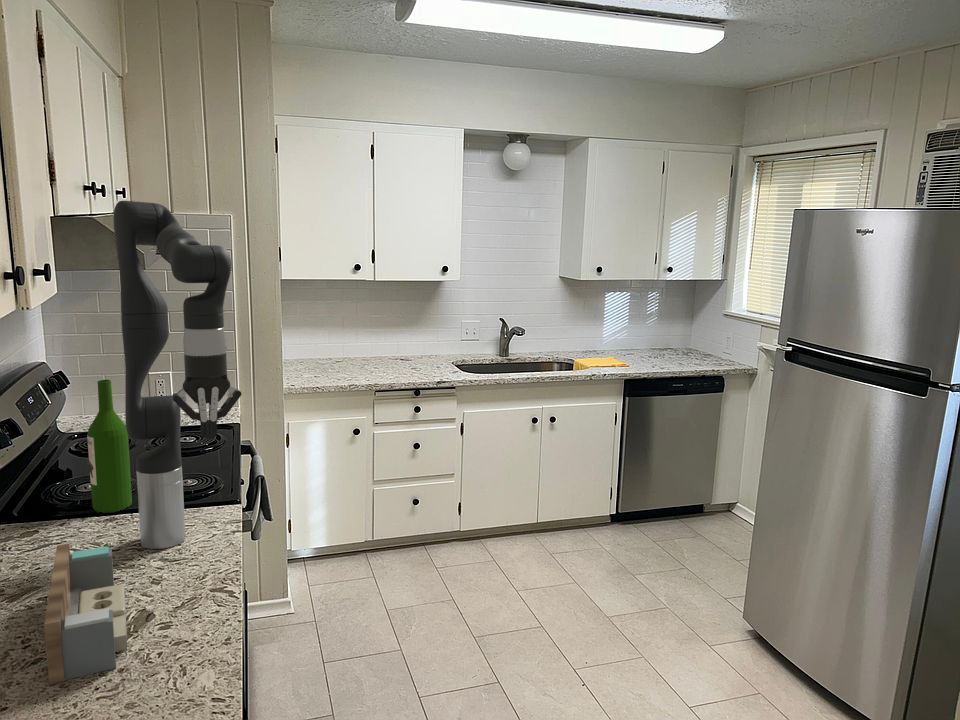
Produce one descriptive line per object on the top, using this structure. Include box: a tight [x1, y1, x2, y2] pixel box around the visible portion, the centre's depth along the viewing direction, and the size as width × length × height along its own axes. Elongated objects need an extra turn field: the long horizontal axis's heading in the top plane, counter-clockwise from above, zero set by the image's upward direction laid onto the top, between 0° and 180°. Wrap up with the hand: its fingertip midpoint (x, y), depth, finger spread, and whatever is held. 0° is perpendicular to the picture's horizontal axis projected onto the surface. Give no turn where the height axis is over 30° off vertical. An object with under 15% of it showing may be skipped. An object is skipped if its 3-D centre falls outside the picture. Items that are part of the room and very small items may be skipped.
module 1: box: [69, 545, 115, 592], centre depth 134 cm, size 4×7×9 cm, turn 118°
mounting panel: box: [43, 543, 71, 686], centre depth 120 cm, size 31×2×10 cm, turn 28°
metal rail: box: [68, 584, 81, 616], centre depth 122 cm, size 22×2×4 cm, turn 27°
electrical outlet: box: [79, 583, 128, 653], centre depth 123 cm, size 7×4×18 cm
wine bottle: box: [86, 379, 133, 514], centre depth 176 cm, size 9×9×32 cm
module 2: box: [61, 608, 117, 681], centre depth 111 cm, size 4×7×9 cm, turn 118°
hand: (209, 439), depth 137 cm, fingers closed
